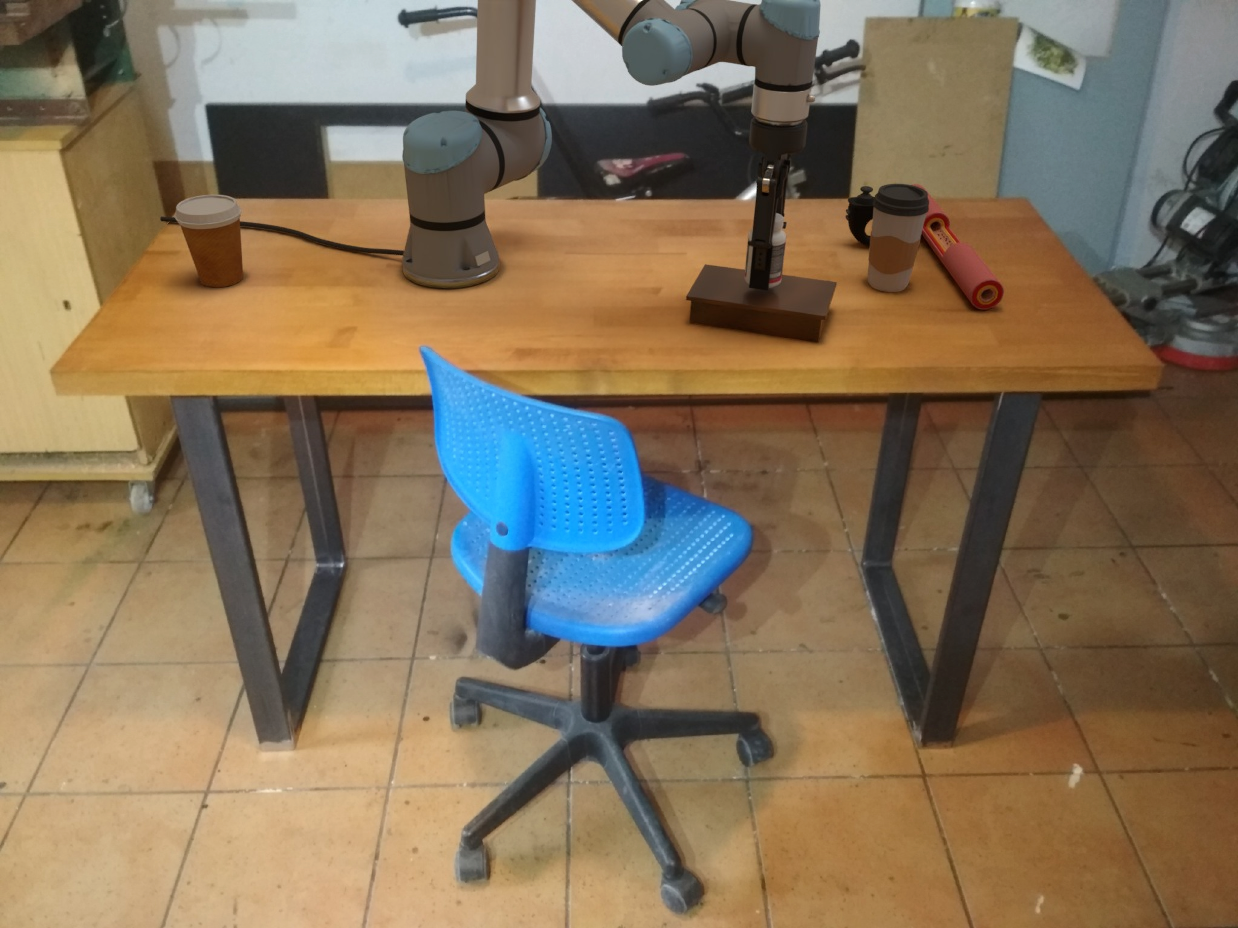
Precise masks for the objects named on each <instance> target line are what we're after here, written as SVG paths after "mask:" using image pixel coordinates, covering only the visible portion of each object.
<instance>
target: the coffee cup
mask: <svg viewBox="0 0 1238 928" xmlns="http://www.w3.org/2000/svg"><path fill="white" fill-rule="evenodd" d="M927 192H928V190H926V191H925V190H924V189H922V188H920V187H917V186H913V185H912V184H907V183H887V184H884V185H881V186H880V187H879V188H878V190H877V193H876V194H875V195H874V197H875V198H874V202H873V206H874V209H873V219H872V220H871V221H872V223H871V231H870V235H869V236H870V246H869V250H868V260H867V261H868V265H867V278H866V279H867V281H868V285H869V286H870V287H871V288H872V289H875V290H877V291H880V292H884V293H898V292H902V291H904V290H905V289H906V288H907V287H908V285H909V283H910V279H911V275H912V272H913V268H914V265H915V262H916V259H917V254H918V251H919V247H920V242H921V239H922V234H921V233H922V229H923V225H924V221H925V217H926V213H927V212H928V211H929V199H928V193H929V192H928V193H927Z"/></svg>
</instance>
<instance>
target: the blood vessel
mask: <svg viewBox="0 0 1238 928" xmlns="http://www.w3.org/2000/svg"><path fill="white" fill-rule="evenodd" d="M911 185H913V186H917V187H920V188H922V189H924V190H925V191H927V189H926V188H925V186H923V185H921V184H919V183H913V184H911ZM927 193H928V199H929V211H928V212H927V213H926V217H925V221H924V225H923V229H922V233H921V236H922V237H923V238H924V240H925V241H926V242H927V244H928V245H929V247H930V248H931V249H932V250H933V252H934V253H935V255H936V257H937V258H938V259H939V260H940V262H941V263H942V265H943V266H944V267H945V268H946V270H947V272H948V273H949V274H950V276H951V277H952V278H953V280H954V281H955V283H956V284H957V286H958V287H959V288H960V289H961V291H962V292H963V294H964V295H965V296H966V298H967V299H968V301H969V302H970V303H971V305H972V306H973V307H974V308H976V309H978V310H981V311H982V310H983V311H984V310H986V311H987V310H990V309H993V308H994V307H997V306H998V305H999V304H1000V302H1001V301H1002V299H1003V298H1004V294H1005V288H1004V286H1003V284H1002V282H1001V281H1000V280H999V279H998V278H997V276H996V275H995V274H994V273H993V271H992V270H991V269H990V268H989V266H988V265H987V264H986V263H985V261H984V260H983V258H981V257H980V255H979V254H978V253H977V251H976V250H975V248H973V246H972V245H971V244H970V243H967V242H962V241H961V240H960V239H959V237H958V236H957V235H956V234H955V232H954V231H953V230H952V229H951V222H950V218H949V217H948V216H947V214H946V213H945V211H944V210H943V209H942V208H941V206H940V205H939V204H938V203H937V202H936V200H935V199H934V198H933V197H932V195H931V194H930V193H929V192H928V191H927Z"/></svg>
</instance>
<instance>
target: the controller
mask: <svg viewBox="0 0 1238 928" xmlns="http://www.w3.org/2000/svg"><path fill="white" fill-rule="evenodd" d="M859 189H860V192H862V193H860V194H858V195H857V196H851V197H849V198H847V203H848V206H847V209H845V213H846V214H845V216H844V217H845V219H846V221H847V223H848V229H849V231H850V233H851V235H852V236H853V238H854V239H855V240H856V241H857V242H858V243H860V244H862V245H864V246H866V247H870V236H871V235H869V234H867V232H866V227H867V225H868V224H869V222H871V221H873V209H874V206H873V202H874V198H875V196H873V195H872V194H871V193H873V191H874V188H873V187H872V186H869V185H864V186H863V185H862V186H860V188H859Z"/></svg>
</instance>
